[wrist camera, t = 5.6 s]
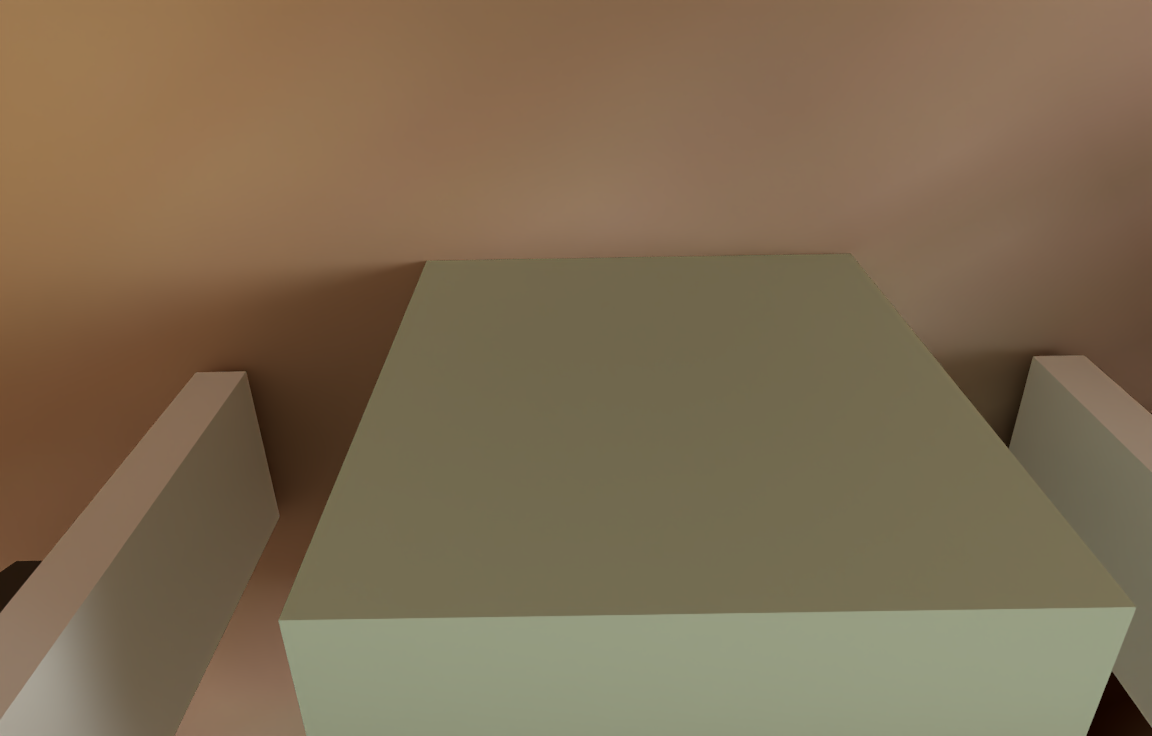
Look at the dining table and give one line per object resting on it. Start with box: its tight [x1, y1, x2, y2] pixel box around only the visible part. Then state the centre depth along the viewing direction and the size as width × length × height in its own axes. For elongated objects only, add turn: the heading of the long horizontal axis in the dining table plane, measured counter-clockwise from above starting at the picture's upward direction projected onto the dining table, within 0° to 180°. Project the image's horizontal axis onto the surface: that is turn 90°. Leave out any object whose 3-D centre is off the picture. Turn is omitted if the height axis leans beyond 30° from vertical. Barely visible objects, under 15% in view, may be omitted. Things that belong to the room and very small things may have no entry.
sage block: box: [278, 254, 1136, 736], centre depth 10 cm, size 6×6×7 cm
